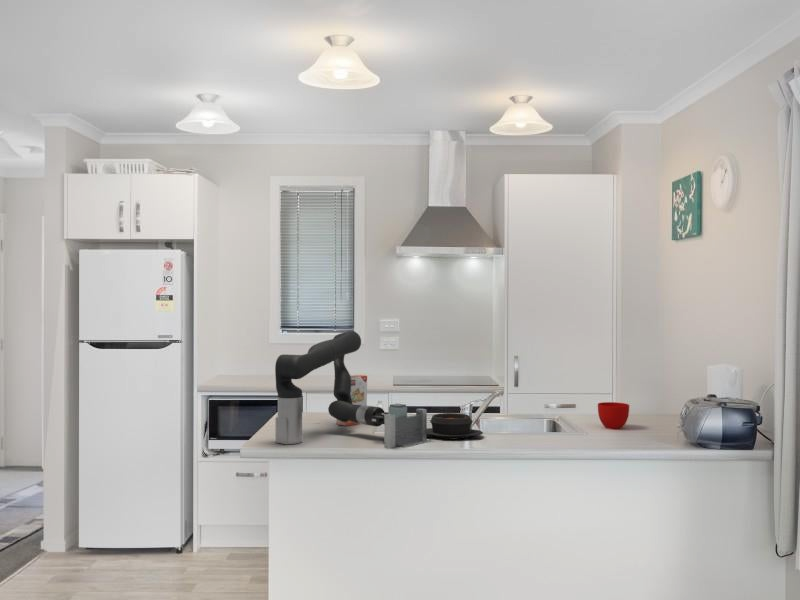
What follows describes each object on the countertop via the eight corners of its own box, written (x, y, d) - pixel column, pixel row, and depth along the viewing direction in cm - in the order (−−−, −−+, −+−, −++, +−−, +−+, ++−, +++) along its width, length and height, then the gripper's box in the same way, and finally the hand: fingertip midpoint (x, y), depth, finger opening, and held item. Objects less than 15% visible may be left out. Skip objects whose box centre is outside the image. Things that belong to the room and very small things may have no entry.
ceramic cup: (624, 424, 333) (624, 401, 333) (632, 430, 317) (632, 406, 317) (593, 423, 335) (594, 400, 335) (600, 430, 318) (600, 406, 318)
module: (398, 440, 287) (398, 406, 286) (388, 438, 290) (388, 404, 290) (406, 438, 290) (407, 404, 290) (397, 436, 294) (397, 403, 294)
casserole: (483, 433, 309) (483, 413, 309) (481, 442, 291) (481, 420, 291) (422, 431, 313) (422, 411, 313) (416, 440, 295) (416, 418, 295)
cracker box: (346, 426, 325) (346, 377, 325) (336, 425, 329) (336, 376, 328) (367, 422, 336) (367, 374, 336) (357, 420, 340) (357, 374, 340)
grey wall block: (395, 449, 277) (395, 416, 277) (384, 447, 280) (384, 414, 280) (431, 441, 292) (431, 409, 292) (420, 439, 296) (420, 408, 296)
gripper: (357, 408, 294) (390, 413, 283) (382, 404, 305) (415, 408, 294) (357, 427, 294) (390, 433, 283) (382, 422, 305) (415, 427, 294)
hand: (403, 420), depth 288 cm, fingers closed on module, 5 cm apart
